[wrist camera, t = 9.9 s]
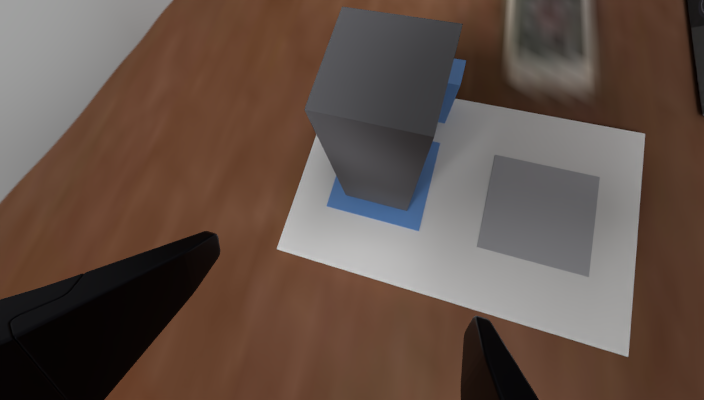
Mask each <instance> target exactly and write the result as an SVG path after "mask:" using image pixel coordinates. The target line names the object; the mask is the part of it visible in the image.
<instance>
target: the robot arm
mask: <svg viewBox="0 0 704 400" xmlns="http://www.w3.org/2000/svg"><path fill="white" fill-rule="evenodd" d="M219 255H220V246H219V239H218V236H217V234H215V233H212V232H209V231H204V232H201V233H198V234H195V235H193V236H190V237H187V238H184V239H181V240H178V241H175V242H172V243H169V244H167V245H164V246H161V247H158V248H155V249H152V250H149V251H146V252H143V253H141V254H138V255H135V256H132V257H129V258H126V259H123V260H120V261H117V262H115V263H112V264H109V265H106V266H103V267H100V268H97V269H94V270H91V271H89V272H86V273H85V274H80V275H77V276H74V277H71V278H68V279H65V280H62V281H59V282H56V283H53V284H50V285H47V286H44V287H41V288H38V289H34V290H31V291H28V292H25V293H21V294H18V295H15V296H11V297H8V298H4V299H1V300H0V400H104V399H105V398H106V397H107V396H108V395H109V393H110V392H111V391H112V390H113V389H114V388H115V386H116V385H117V384H118V383H119V382H120V380H121V379H122V378H123V377H124V376H125V374H126V373H127V372H128V371H129V370H130V368H131V367H132V366H133V365H134V364H135V362H136V361H137V360H138V359H139V358H140V357H141V355H142V354H143V353H144V352H145V351H146V349H147V348H148V347H149V346H150V345H151V343H152V342H153V341H154V340H155V339H156V337H157V336H158V335H159V334H160V333H161V332H162V330H163V329H164V328H165V327H166V326H167V324H168V323H169V322H170V321H171V320H172V318H173V317H174V316H175V315H176V314H177V312H178V311H179V310H180V309H181V308H182V307H183V305H184V304H185V303H186V302H187V301H188V299H189V298H190V297H191V296H192V294H193V293H194V292H195V290H196V289H197V288H198V286H199V285H200V283H201V282H202V281H203V279H204V278H205V276H206V275H207V273H208V272H209V270H210V269H211V267H212V266H213V264H214V263H215V262H216V260H217V259H218V257H219ZM461 400H539V399H538V398H537V396H536V394H535V393H534V391H533V389H532V388H531V386H530V385H529V383H528V381H527V380H526V378H525V376H524V375H523V373H522V372H521V370H520V368H519V367H518V365H517V364H516V362H515V360H514V359H513V357H512V355H511V354H510V352H509V351H508V349H507V347H506V346H505V344H504V342H503V341H502V339H501V338H500V336H499V334H498V333H497V331H496V330H495V328H494V326H493V325H492V323H491V322H490V321H489V320H488V319H486V318H483V317H479V316H474V317H473V319H472V321H471V322H470V324H469V326H468V328H467V329H466V331H465V335H464V343H463V359H462V374H461Z"/></svg>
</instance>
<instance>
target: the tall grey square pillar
mask: <svg viewBox="0 0 704 400" xmlns="http://www.w3.org/2000/svg"><path fill="white" fill-rule="evenodd" d="M462 25H463V24H460V23H453V22H446V21H439V20H432V19H425V18H418V17H411V16H404V15H397V14H390V13H383V12H376V11H369V10H362V9H355V8H348V7H342V9H341V11H340V14H339V17H338V19H337V22H336V25H335V28H334V30H333V33H332V36H331V38H330V41H329V44H328V47H327V49H326V52H325V55H324V58H323V60H322V63H321V66H320V68H319V71H318V74H317V77H316V79H315V82H314V85H313V87H312V90H311V93H310V96H309V98H308V101H307V104H306V107H305V109H304V110H305V112H306V114H307V116H308V118H309V120H310V122H311V124H312V126H313V128H314V130H315V132H316V134H317V137H318V139H319V141H320V143H321V145H322V147H323V149H324V151H325V153H326V155H327V157H328V159H329V161H330V163H331V165H332V168H333V170H334V172H335V174H336V176H337V178H338V180H339V182H340V184H341V186H342V188H343V190H344V192H345V194H346V195H347V196H351V197H355V198H359V199H363V200H366V201H370V202H374V203H378V204H382V205H386V206H389V207H393V208H397V209H401V210H405V211H407V209H408V207H409V204H410V201H411V198H412V196H413V193H414V190H415V188H416V185H417V182H418V180H419V177H420V174H421V171H422V169H423V166H424V163H425V161H426V158H427V155H428V153H429V150H430V147H431V144H432V142H433V139H434V136H435V132H436V128H437V124H438V120H439V116H440V112H441V108H442V104H443V100H444V96H445V92H446V88H447V84H448V80H449V76H450V72H451V68H452V64H453V60H454V56H455V53H456V49H457V45H458V41H459V37H460V33H461V29H462Z"/></svg>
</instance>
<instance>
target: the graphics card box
mask: <svg viewBox="0 0 704 400" xmlns="http://www.w3.org/2000/svg"><path fill="white" fill-rule="evenodd" d="M687 1H688V11H689V17H690V25H691V32H692V39H693V50H694V58H695V63H696V70H697V80H698V88H699V93H700V101H701V109H702V114H703V116H704V0H687Z"/></svg>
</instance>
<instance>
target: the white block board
mask: <svg viewBox="0 0 704 400" xmlns="http://www.w3.org/2000/svg"><path fill="white" fill-rule="evenodd" d="M465 64H466V60H461V59H454V60H453V64H452V68H451V72H450V76H449V80H448V84H447V88H446V92H445V96H444V100H443V104H442V108H441V112H440V116H439V120H438V124H437V128H436V132H435V136H434V139H433V142H432V144H431V147H430V150H429V153H428V155H427V158H426V161H425V163H424V166H423V169H422V171H421V174H420V177H419V180H418V182H417V185H416V188H415V190H414V193H413V196H412V198H411V201H410V204H409V207H408V209H407V211H405V210H401V209H397V208H393V207H389V206H386V205H382V204H378V203H374V202H370V201H366V200H363V199H359V198H355V197H351V196H347V195H346V194H345V192H344V190H343V188H342V186H341V184H340V182H339V180H338V178H337V176H336V174H335V172H334V170H333V168H332V165H331V163H330V161H329V159H328V157H327V155H326V153H325V151H324V149H323V147H322V145H321V143H320V141H319V139H318V137H317V135H316V138H315V140H314V143H313V146H312V149H311V152H310V155H309V158H308V161H307V163H306V166H305V169H304V172H303V175H302V178H301V181H300V184H299V186H298V189H297V192H296V195H295V198H294V201H293V204H292V207H291V209H290V212H289V215H288V218H287V221H286V224H285V227H284V230H283V232H282V235H281V238H280V241H279V244H278V247H277V249H278V250H281V251H284V252H288V253H291V254H294V255H297V256H301V257H304V258H307V259H310V260H314V261H317V262H320V263H323V264H327V265H330V266H333V267H336V268H340V269H343V270H346V271H350V272H353V273H356V274H359V275H363V276H366V277H369V278H372V279H376V280H379V281H382V282H385V283H389V284H392V285H395V286H398V287H402V288H405V289H408V290H411V291H415V292H418V293H421V294H424V295H428V296H431V297H434V298H437V299H441V300H444V301H447V302H450V303H454V304H457V305H460V306H463V307H467V308H470V309H473V310H476V311H480V312H483V313H486V314H490V315H493V316H496V317H499V318H503V319H506V320H509V321H512V322H516V323H519V324H522V325H525V326H529V327H532V328H535V329H538V330H542V331H545V332H548V333H551V334H555V335H558V336H561V337H564V338H568V339H571V340H574V341H577V342H581V343H584V344H587V345H590V346H594V347H597V348H600V349H603V350H607V351H610V352H613V353H616V354H620V355H623V356H626V357H628V355H629V341H630V328H631V315H632V302H633V289H634V275H635V262H636V249H637V236H638V222H639V209H640V196H641V183H642V170H643V156H644V143H645V134H643V133H638V132H633V131H627V130H622V129H617V128H611V127H606V126H600V125H595V124H590V123H584V122H579V121H574V120H568V119H563V118H558V117H552V116H547V115H541V114H536V113H531V112H525V111H520V110H515V109H509V108H504V107H498V106H493V105H488V104H482V103H477V102H472V101H466V100H461V99H455V97H456V95H457V93H458V90H459V88H460V85H461V81H462V77H463V72H464V68H465Z"/></svg>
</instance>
